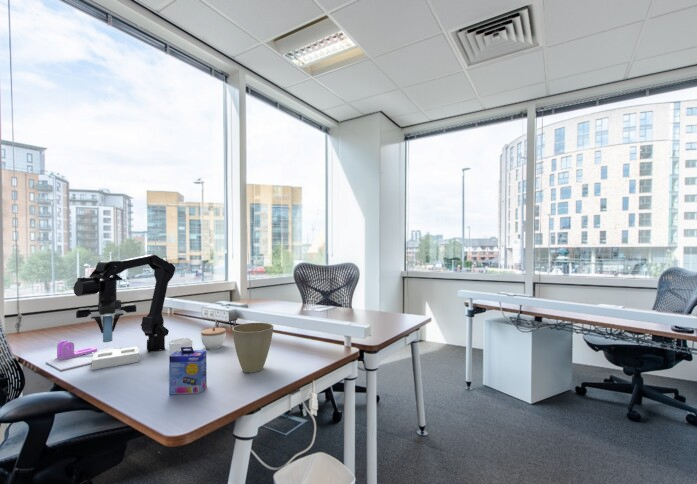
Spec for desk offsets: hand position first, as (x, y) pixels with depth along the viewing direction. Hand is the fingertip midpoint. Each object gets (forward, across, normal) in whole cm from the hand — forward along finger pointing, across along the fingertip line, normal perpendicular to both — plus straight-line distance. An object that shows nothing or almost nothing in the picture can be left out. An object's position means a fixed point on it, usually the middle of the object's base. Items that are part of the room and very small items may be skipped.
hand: (107, 332), depth 127 cm
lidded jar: (+13, +39, -2) cm, 42 cm away
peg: (+4, 0, 0) cm, 4 cm away
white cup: (+13, +23, -20) cm, 33 cm away
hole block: (+13, +3, +2) cm, 13 cm away
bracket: (+13, -10, +24) cm, 29 cm away
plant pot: (+13, +44, -40) cm, 61 cm away
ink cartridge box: (+13, +21, -45) cm, 51 cm away
